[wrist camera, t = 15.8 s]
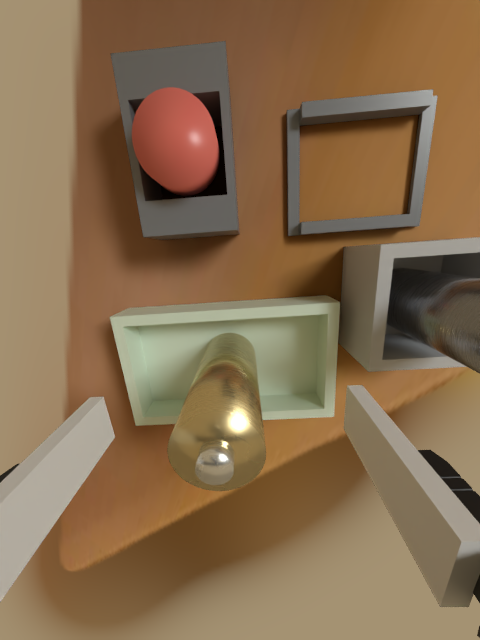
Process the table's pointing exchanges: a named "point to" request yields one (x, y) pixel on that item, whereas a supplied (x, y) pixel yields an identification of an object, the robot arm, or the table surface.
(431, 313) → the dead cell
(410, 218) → the empty grey frame
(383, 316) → the bin
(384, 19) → the table surface
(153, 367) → the trough
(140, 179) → the button housing
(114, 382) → the table surface
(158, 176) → the button
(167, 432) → the table surface
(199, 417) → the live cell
